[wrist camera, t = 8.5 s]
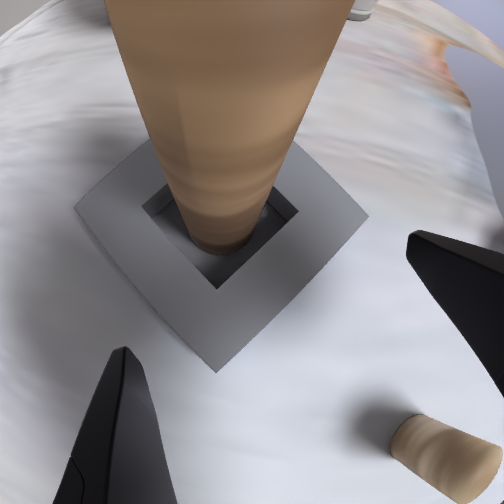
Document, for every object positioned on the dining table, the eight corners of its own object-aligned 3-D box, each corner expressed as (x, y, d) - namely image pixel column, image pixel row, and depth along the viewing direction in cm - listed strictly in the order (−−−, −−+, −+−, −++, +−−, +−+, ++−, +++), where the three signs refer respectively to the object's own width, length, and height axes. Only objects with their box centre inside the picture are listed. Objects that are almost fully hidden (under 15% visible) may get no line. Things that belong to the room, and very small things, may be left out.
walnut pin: (241, 264, 18) (354, 37, 2) (177, 242, 18) (40, -1, 2) (262, 204, 19) (371, -51, 3) (201, 182, 18) (179, -86, 3)
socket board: (216, 364, 17) (215, 373, 14) (89, 218, 17) (73, 206, 15) (352, 227, 19) (369, 216, 17) (226, 107, 20) (227, 84, 17)
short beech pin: (406, 467, 16) (467, 510, 9) (380, 446, 17) (446, 495, 9) (439, 429, 17) (507, 458, 9) (417, 405, 17) (493, 435, 10)
